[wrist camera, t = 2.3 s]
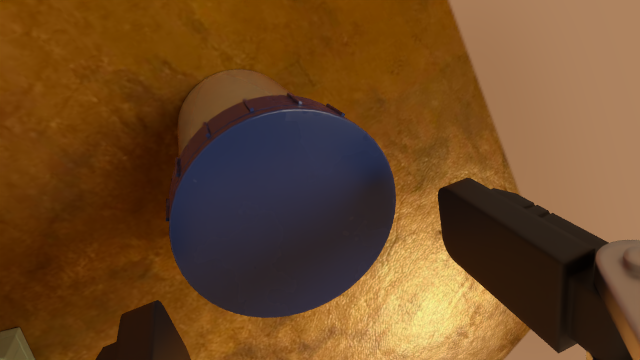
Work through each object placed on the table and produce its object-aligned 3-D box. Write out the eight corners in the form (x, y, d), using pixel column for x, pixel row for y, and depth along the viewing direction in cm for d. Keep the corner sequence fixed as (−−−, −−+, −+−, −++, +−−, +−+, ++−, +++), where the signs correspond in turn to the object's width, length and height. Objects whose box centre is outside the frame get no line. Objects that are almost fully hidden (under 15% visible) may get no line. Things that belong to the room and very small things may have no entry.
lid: (144, 110, 11) (139, 128, 9) (369, 80, 13) (399, 91, 11) (191, 303, 14) (194, 344, 12) (371, 257, 16) (395, 287, 14)
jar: (165, 76, 18) (160, 135, 10) (292, 62, 20) (379, 103, 12) (190, 195, 21) (203, 320, 13) (301, 174, 23) (379, 272, 14)
